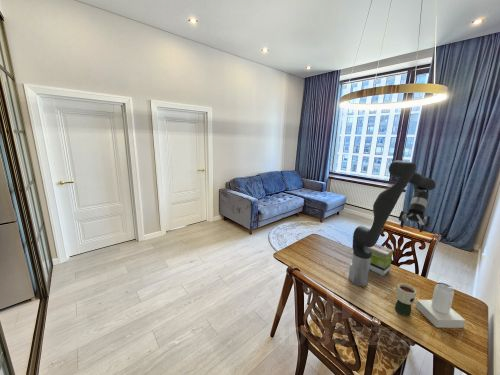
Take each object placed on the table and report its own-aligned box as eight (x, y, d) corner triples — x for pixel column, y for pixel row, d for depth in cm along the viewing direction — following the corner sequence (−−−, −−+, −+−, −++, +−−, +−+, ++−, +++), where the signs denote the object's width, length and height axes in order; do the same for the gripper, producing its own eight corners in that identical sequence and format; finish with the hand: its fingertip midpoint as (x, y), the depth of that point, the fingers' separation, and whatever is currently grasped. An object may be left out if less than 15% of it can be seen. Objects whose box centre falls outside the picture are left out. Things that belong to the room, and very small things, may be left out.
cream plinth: (436, 327, 93) (438, 319, 93) (415, 306, 105) (417, 299, 104) (463, 327, 93) (465, 320, 93) (439, 306, 105) (441, 300, 104)
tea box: (358, 265, 140) (361, 244, 137) (365, 260, 146) (368, 240, 143) (383, 276, 129) (387, 254, 125) (390, 270, 135) (393, 249, 131)
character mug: (408, 322, 96) (413, 297, 93) (390, 313, 101) (394, 289, 98) (414, 310, 103) (418, 286, 100) (396, 302, 108) (400, 279, 105)
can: (452, 315, 95) (458, 292, 92) (436, 313, 96) (441, 290, 94) (443, 305, 101) (448, 282, 98) (427, 302, 102) (432, 281, 100)
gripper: (403, 200, 130) (395, 223, 125) (433, 205, 120) (427, 230, 115) (403, 207, 135) (396, 228, 129) (432, 212, 125) (426, 236, 119)
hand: (410, 229), depth 122 cm, fingers open, 8 cm apart
